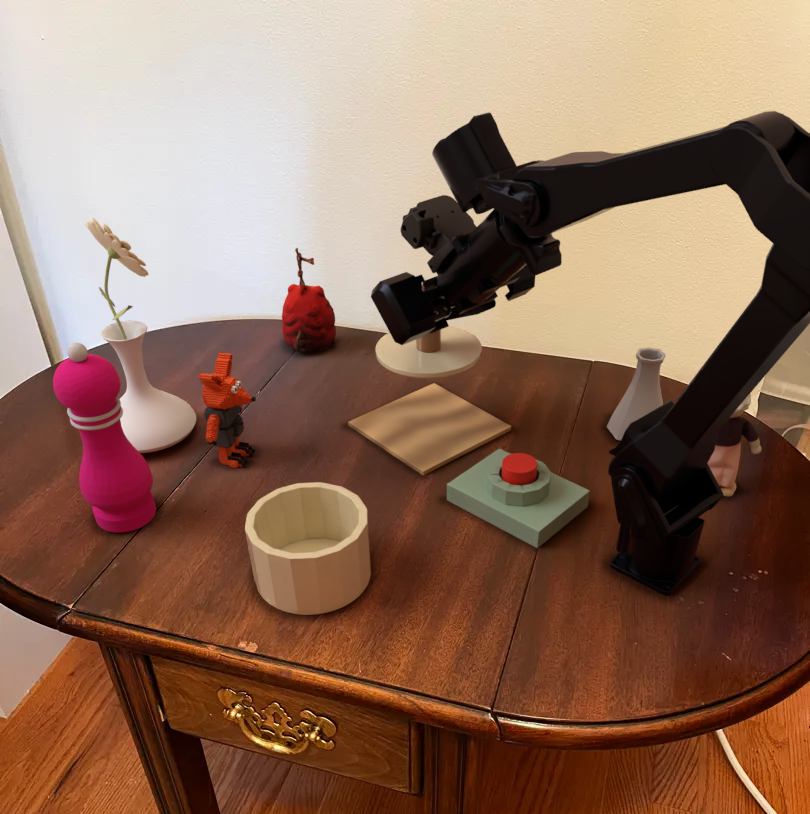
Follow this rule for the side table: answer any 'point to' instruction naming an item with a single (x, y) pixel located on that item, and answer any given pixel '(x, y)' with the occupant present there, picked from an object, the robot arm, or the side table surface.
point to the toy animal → (225, 412)
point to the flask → (639, 392)
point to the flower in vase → (140, 367)
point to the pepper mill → (104, 443)
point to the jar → (309, 547)
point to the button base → (518, 499)
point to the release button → (519, 469)
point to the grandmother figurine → (732, 448)
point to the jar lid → (431, 353)
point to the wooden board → (429, 428)
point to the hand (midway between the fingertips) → (420, 322)
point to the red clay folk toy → (307, 315)
